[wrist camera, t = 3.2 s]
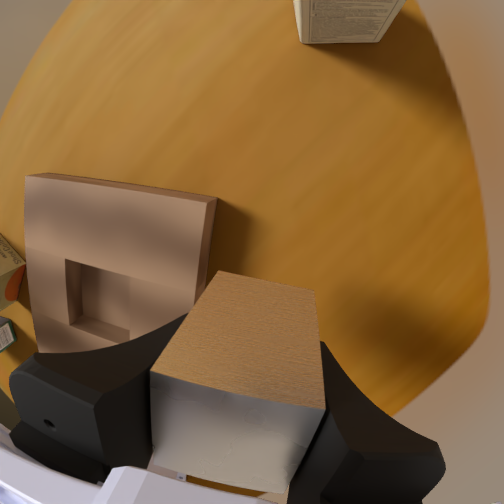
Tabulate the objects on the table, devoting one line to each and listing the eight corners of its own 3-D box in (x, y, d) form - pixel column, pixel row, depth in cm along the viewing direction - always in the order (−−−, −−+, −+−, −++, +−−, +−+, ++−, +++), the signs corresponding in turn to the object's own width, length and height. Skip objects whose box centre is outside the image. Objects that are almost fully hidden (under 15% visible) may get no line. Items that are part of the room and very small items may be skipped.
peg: (291, 367, 14) (283, 494, 8) (207, 349, 14) (153, 464, 8) (313, 289, 13) (325, 409, 6) (218, 270, 13) (150, 370, 7)
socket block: (192, 396, 24) (184, 416, 22) (55, 347, 25) (40, 360, 23) (217, 197, 19) (206, 202, 17) (46, 172, 20) (25, 175, 18)
